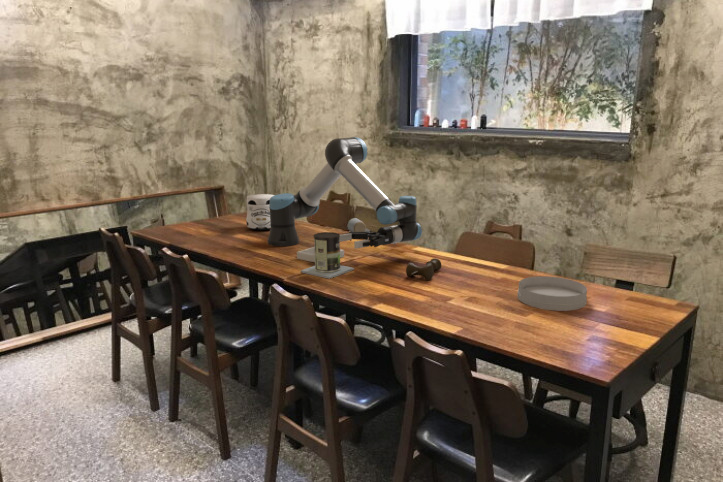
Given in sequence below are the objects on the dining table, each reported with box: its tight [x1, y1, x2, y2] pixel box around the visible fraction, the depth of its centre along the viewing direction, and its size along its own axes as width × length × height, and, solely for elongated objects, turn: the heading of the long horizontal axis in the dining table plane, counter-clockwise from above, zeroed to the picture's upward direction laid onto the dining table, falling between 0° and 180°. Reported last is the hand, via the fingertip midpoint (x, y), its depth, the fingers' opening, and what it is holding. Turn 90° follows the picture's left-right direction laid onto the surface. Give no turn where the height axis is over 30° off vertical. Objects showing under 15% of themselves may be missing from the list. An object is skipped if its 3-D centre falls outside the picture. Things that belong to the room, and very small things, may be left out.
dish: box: [516, 275, 588, 312], centre depth 184 cm, size 22×22×5 cm
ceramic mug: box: [347, 217, 371, 232], centre depth 285 cm, size 11×8×8 cm
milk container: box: [245, 193, 276, 231], centre depth 297 cm, size 17×17×18 cm
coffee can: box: [313, 231, 341, 273], centre depth 217 cm, size 10×10×14 cm
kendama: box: [405, 257, 442, 281], centre depth 211 cm, size 6×10×20 cm
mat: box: [300, 264, 355, 280], centre depth 218 cm, size 15×15×1 cm
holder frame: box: [296, 246, 345, 263], centre depth 238 cm, size 15×15×3 cm
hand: (345, 241), depth 221 cm, fingers open, 13 cm apart
